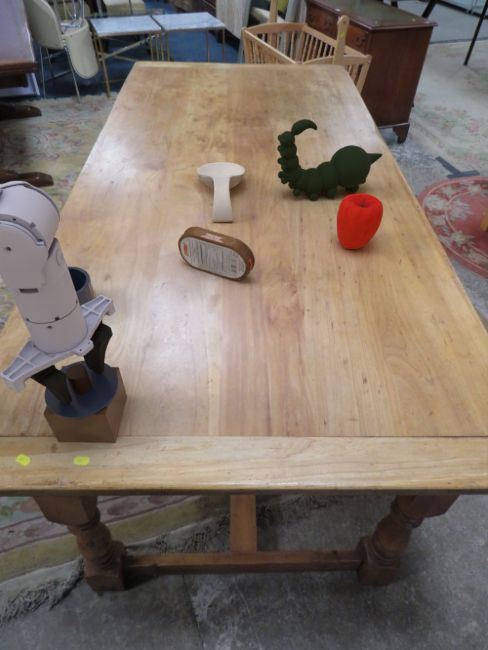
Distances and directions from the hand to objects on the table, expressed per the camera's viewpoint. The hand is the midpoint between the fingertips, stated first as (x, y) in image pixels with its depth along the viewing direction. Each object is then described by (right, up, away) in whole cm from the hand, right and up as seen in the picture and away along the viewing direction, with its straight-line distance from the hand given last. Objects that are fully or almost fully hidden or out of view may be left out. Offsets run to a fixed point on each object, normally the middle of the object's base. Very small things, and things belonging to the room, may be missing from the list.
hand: (80, 384), depth 55 cm
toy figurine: (+40, +40, +52) cm, 77 cm away
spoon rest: (+15, +38, +49) cm, 64 cm away
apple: (+43, +24, +36) cm, 61 cm away
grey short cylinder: (-9, +11, +21) cm, 26 cm away
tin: (+15, +18, +29) cm, 37 cm away
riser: (0, -5, +5) cm, 8 cm away
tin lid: (0, -1, +1) cm, 1 cm away
